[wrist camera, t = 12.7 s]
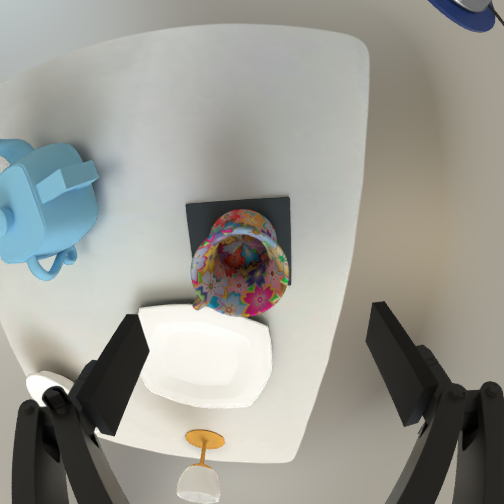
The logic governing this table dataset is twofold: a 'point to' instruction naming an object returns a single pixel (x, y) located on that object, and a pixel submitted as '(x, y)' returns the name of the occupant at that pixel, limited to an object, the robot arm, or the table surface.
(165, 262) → the table surface
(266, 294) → the mug
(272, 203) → the left mat
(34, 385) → the bowl
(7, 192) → the teapot
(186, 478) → the cup
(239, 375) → the plate
